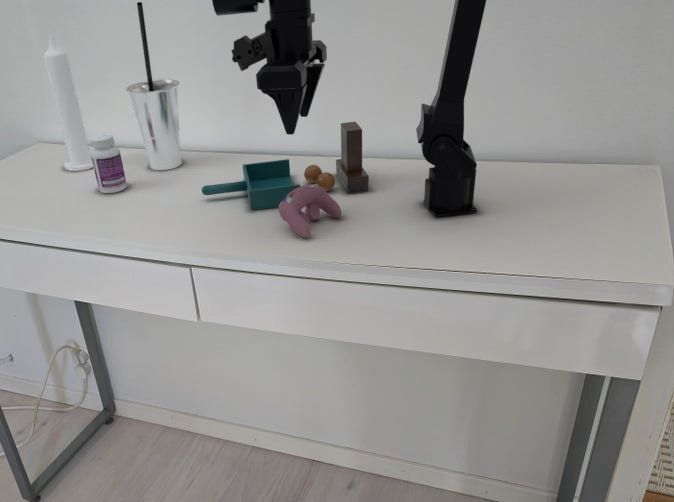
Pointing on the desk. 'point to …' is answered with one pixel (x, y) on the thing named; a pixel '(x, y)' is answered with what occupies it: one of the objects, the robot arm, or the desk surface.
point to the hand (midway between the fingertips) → (297, 125)
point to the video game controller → (307, 207)
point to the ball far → (312, 173)
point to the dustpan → (260, 184)
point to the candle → (67, 108)
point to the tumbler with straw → (157, 113)
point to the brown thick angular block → (351, 159)
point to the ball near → (326, 181)
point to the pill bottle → (107, 164)
